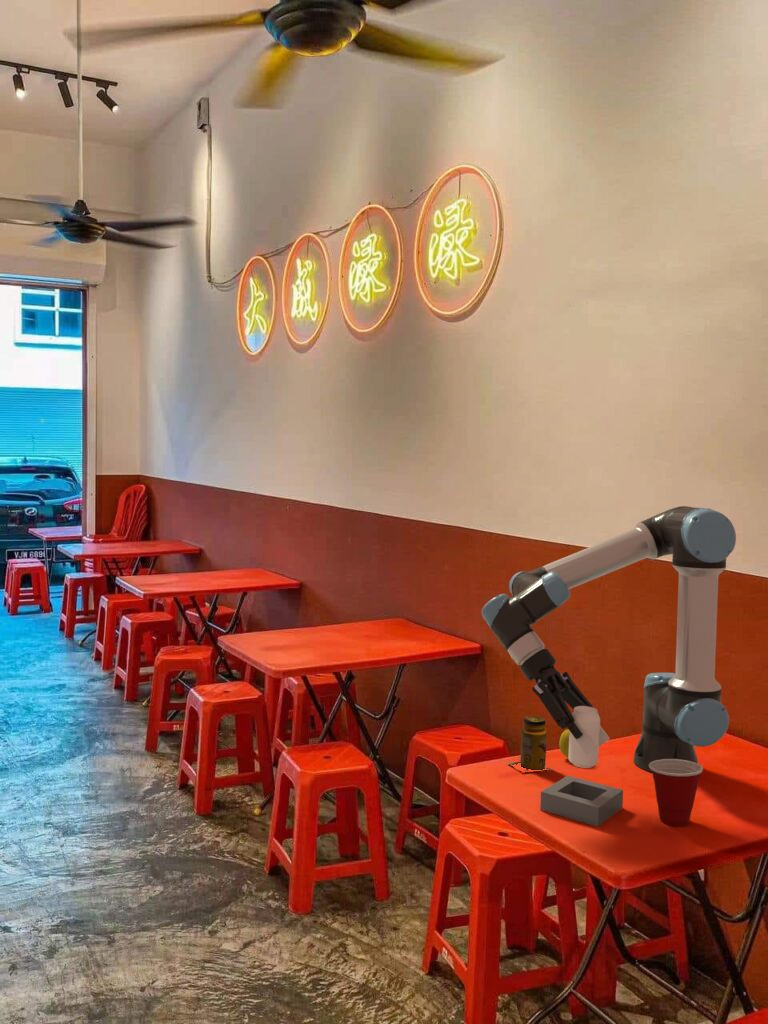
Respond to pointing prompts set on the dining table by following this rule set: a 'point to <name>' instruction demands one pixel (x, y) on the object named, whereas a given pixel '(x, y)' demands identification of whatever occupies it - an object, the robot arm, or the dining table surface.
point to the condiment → (533, 744)
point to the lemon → (564, 743)
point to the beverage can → (592, 727)
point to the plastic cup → (675, 789)
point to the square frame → (582, 800)
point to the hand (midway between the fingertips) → (598, 746)
